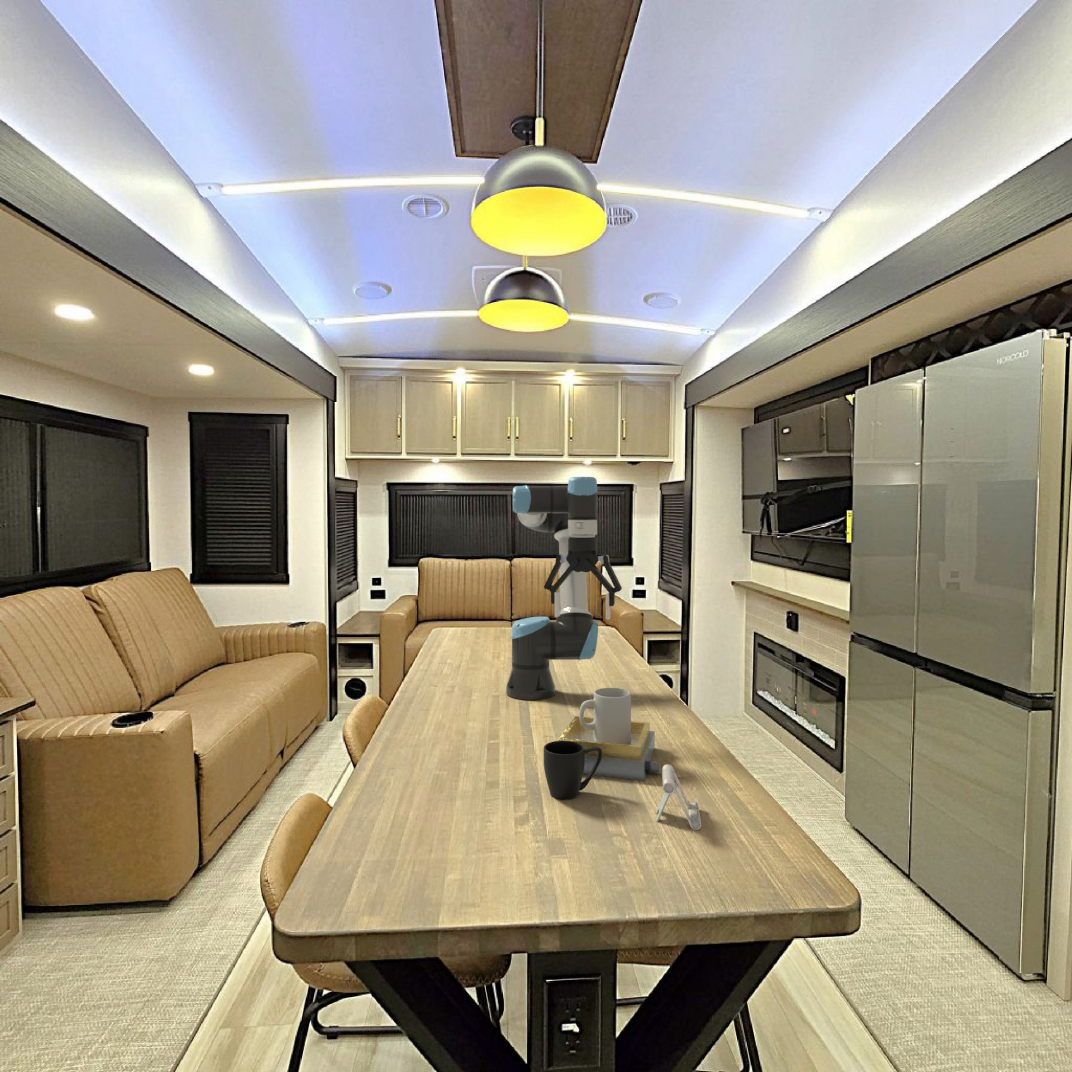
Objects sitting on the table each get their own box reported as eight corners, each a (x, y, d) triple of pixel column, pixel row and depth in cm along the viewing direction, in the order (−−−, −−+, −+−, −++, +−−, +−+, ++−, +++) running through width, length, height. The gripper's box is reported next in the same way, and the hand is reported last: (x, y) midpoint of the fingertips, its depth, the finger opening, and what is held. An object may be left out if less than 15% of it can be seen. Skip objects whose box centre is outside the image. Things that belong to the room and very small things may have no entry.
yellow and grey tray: (552, 770, 145) (552, 741, 145) (572, 739, 164) (572, 714, 164) (657, 782, 139) (657, 751, 139) (666, 749, 158) (666, 722, 158)
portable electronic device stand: (701, 831, 118) (701, 784, 118) (656, 827, 120) (656, 781, 119) (698, 809, 127) (698, 766, 126) (656, 806, 128) (656, 763, 128)
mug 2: (624, 732, 157) (624, 686, 157) (636, 745, 149) (636, 696, 149) (575, 735, 155) (575, 689, 155) (584, 748, 147) (584, 699, 146)
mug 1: (607, 799, 131) (608, 751, 130) (548, 804, 129) (548, 756, 128) (596, 782, 139) (596, 737, 138) (539, 787, 137) (539, 741, 136)
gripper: (532, 536, 173) (532, 617, 174) (628, 537, 166) (628, 621, 167) (540, 535, 180) (540, 613, 181) (632, 536, 173) (632, 617, 174)
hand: (582, 617), depth 174 cm, fingers open, 13 cm apart
